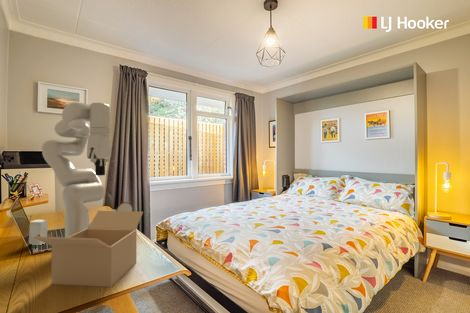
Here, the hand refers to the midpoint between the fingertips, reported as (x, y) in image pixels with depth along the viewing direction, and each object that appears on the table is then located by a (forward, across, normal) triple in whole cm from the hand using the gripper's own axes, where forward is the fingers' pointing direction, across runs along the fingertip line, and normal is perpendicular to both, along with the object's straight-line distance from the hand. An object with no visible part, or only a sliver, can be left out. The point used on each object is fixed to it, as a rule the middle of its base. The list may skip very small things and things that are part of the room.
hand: (100, 175), depth 99 cm
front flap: (+20, +22, +5) cm, 30 cm away
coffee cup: (+37, -37, -17) cm, 55 cm away
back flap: (+20, -3, +5) cm, 21 cm away
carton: (+37, +9, +5) cm, 39 cm away
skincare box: (+37, -15, -42) cm, 58 cm away
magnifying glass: (+37, -25, -3) cm, 45 cm away
